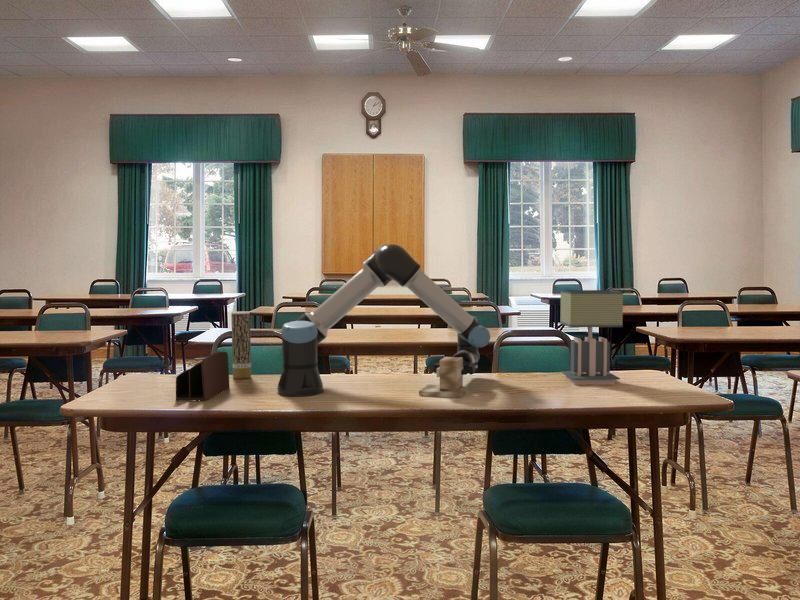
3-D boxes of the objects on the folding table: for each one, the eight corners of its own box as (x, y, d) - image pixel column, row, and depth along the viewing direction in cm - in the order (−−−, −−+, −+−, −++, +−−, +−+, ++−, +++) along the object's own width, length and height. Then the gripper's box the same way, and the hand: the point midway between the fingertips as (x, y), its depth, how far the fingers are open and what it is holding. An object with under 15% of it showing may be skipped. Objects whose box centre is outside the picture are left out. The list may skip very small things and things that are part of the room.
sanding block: (439, 390, 203) (439, 360, 202) (445, 386, 210) (445, 356, 210) (457, 391, 201) (457, 361, 200) (462, 386, 209) (462, 357, 208)
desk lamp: (608, 377, 232) (609, 290, 230) (622, 385, 218) (623, 292, 216) (559, 377, 232) (560, 290, 230) (569, 385, 218) (570, 292, 216)
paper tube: (231, 377, 237) (229, 311, 236) (248, 375, 241) (247, 311, 239) (235, 380, 231) (233, 313, 230) (253, 378, 235) (251, 312, 233)
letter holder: (229, 389, 216) (229, 348, 215) (205, 402, 197) (203, 357, 196) (202, 388, 218) (201, 348, 217) (175, 401, 198) (173, 357, 197)
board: (418, 395, 203) (418, 390, 203) (427, 388, 214) (427, 384, 214) (461, 398, 199) (461, 393, 199) (467, 391, 209) (467, 386, 209)
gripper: (488, 373, 220) (477, 386, 198) (436, 371, 226) (419, 383, 203) (488, 352, 219) (477, 363, 197) (436, 350, 225) (419, 360, 203)
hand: (447, 373), depth 200 cm, fingers closed on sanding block, 6 cm apart
